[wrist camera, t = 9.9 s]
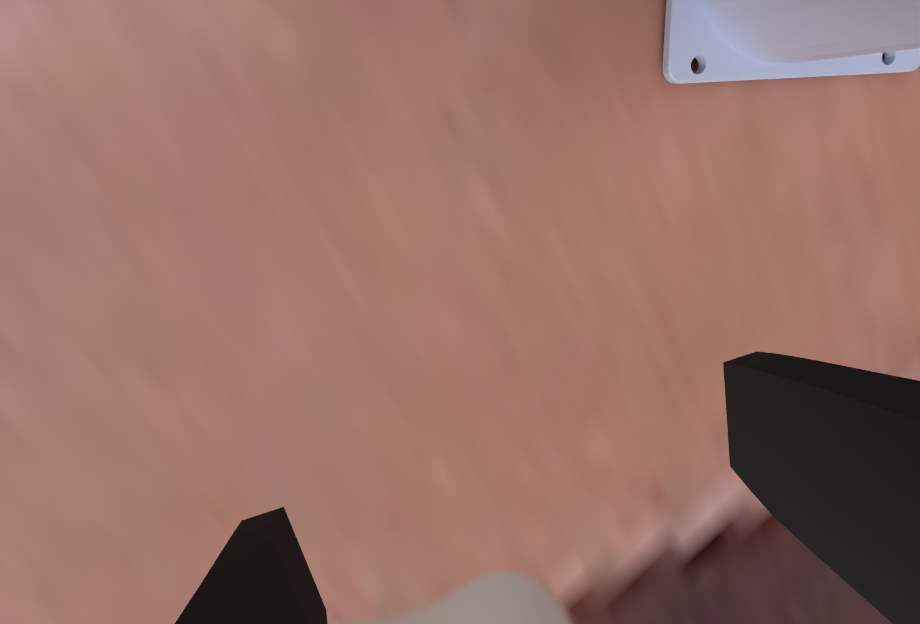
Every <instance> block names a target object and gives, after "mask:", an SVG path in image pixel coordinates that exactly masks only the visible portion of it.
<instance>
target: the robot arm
mask: <svg viewBox="0 0 920 624" xmlns="http://www.w3.org/2000/svg"><path fill="white" fill-rule="evenodd" d="M883 53H885V58H884V61H883V62H882V55H883ZM694 58H696V59H697V61H698V69H697V71H696V72H695V73H693V72H692V70H691V62H692V60H693V59H694ZM919 66H920V0H666V16H665V34H664V51H663V74H664V76H665V78H666V80H668V81H669V82H670V83H674V84H684V83H703V82H723V81H742V80H762V79H781V78H801V77H820V76H840V75H860V74H879V73H899V72H910V71H913V70H915V69H917V68H918V67H919ZM723 364H724V380H725V395H726V410H727V425H728V441H729V456H730V466H731V468H732V469H733V470H734V471H735V472H736V474H737V475H738V476H739V477H740V478H741V480H742V481H743V482H744V483H745V484H746V486H747V487H748V488H749V489H750V490H751V492H752V493H753V494H754V495H755V496H756V497H757V498H758V499H759V501H760V502H761V503H762V504H763V505H764V506H765V507H766V508H767V509H768V511H769V512H770V513H771V514H772V515H773V516H774V517H775V518H776V519H777V520H778V521H779V522H780V523H781V524H782V525H784V526H785V527H786V528H787V529H788V530H789V531H790V532H791V533H792V534H793V535H794V536H796V537H797V538H798V539H799V540H800V541H801V542H802V543H803V544H804V545H805V546H807V547H808V548H809V549H810V550H811V551H812V552H813V553H814V554H815V555H816V556H818V557H819V558H820V559H821V560H822V561H823V562H824V563H825V564H827V565H828V566H829V567H830V568H831V569H832V570H833V571H834V572H835V573H837V574H838V575H839V576H840V577H841V578H842V579H843V580H844V581H846V582H847V583H848V584H849V585H850V586H851V587H852V588H853V589H855V590H856V591H857V592H858V593H859V594H860V595H861V596H862V597H863V598H865V599H866V600H867V601H868V602H869V603H870V604H871V605H872V606H874V607H875V608H876V609H877V610H878V611H879V612H880V613H881V614H883V615H884V616H885V617H886V618H887V619H888V620H889V621H890V622H891V623H893V624H920V381H917V380H912V379H907V378H902V377H897V376H892V375H887V374H881V373H876V372H871V371H866V370H861V369H856V368H851V367H846V366H841V365H836V364H831V363H826V362H821V361H816V360H810V359H805V358H799V357H794V356H788V355H781V354H774V353H765V352H754V353H751V354H748V355H745V356H742V357H739V358H736V359H733V360H730V361H727V362H724V363H723ZM175 624H327V615H326V608H325V606H324V604H323V601H322V599H321V596H320V594H319V592H318V589H317V587H316V584H315V582H314V579H313V577H312V575H311V572H310V570H309V567H308V565H307V562H306V560H305V558H304V555H303V553H302V550H301V548H300V546H299V543H298V541H297V538H296V536H295V533H294V531H293V529H292V526H291V524H290V521H289V519H288V516H287V514H286V512H285V509H284V507H282V508H279V509H276V510H273V511H270V512H267V513H264V514H261V515H258V516H255V517H252V518H249V519H246V520H242V521H241V523H240V524H239V526H238V527H237V529H236V530H235V532H234V533H233V535H232V536H231V538H230V539H229V541H228V542H227V544H226V545H225V547H224V549H223V550H222V552H221V553H220V555H219V556H218V558H217V560H216V561H215V563H214V564H213V566H212V567H211V569H210V571H209V572H208V574H207V575H206V577H205V578H204V580H203V582H202V583H201V585H200V586H199V588H198V589H197V591H196V592H195V594H194V595H193V597H192V598H191V600H190V601H189V603H188V605H187V606H186V608H185V609H184V611H183V612H182V614H181V615H180V617H179V618H178V620H177V621H176V623H175Z"/></svg>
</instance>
